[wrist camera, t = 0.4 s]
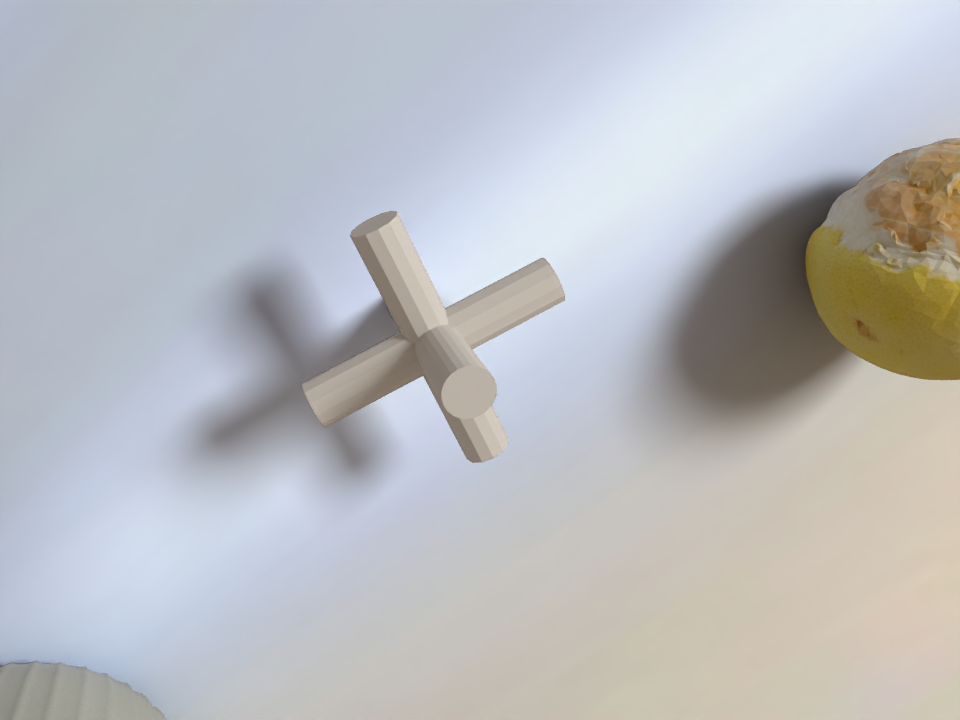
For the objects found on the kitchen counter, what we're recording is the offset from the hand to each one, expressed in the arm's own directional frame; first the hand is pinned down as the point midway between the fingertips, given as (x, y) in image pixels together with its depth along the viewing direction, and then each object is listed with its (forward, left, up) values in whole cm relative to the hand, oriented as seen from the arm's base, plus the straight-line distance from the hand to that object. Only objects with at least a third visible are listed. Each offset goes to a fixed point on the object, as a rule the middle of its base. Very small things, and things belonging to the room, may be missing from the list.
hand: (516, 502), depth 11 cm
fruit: (+8, +25, -26) cm, 37 cm away
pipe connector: (+6, +3, -26) cm, 27 cm away
